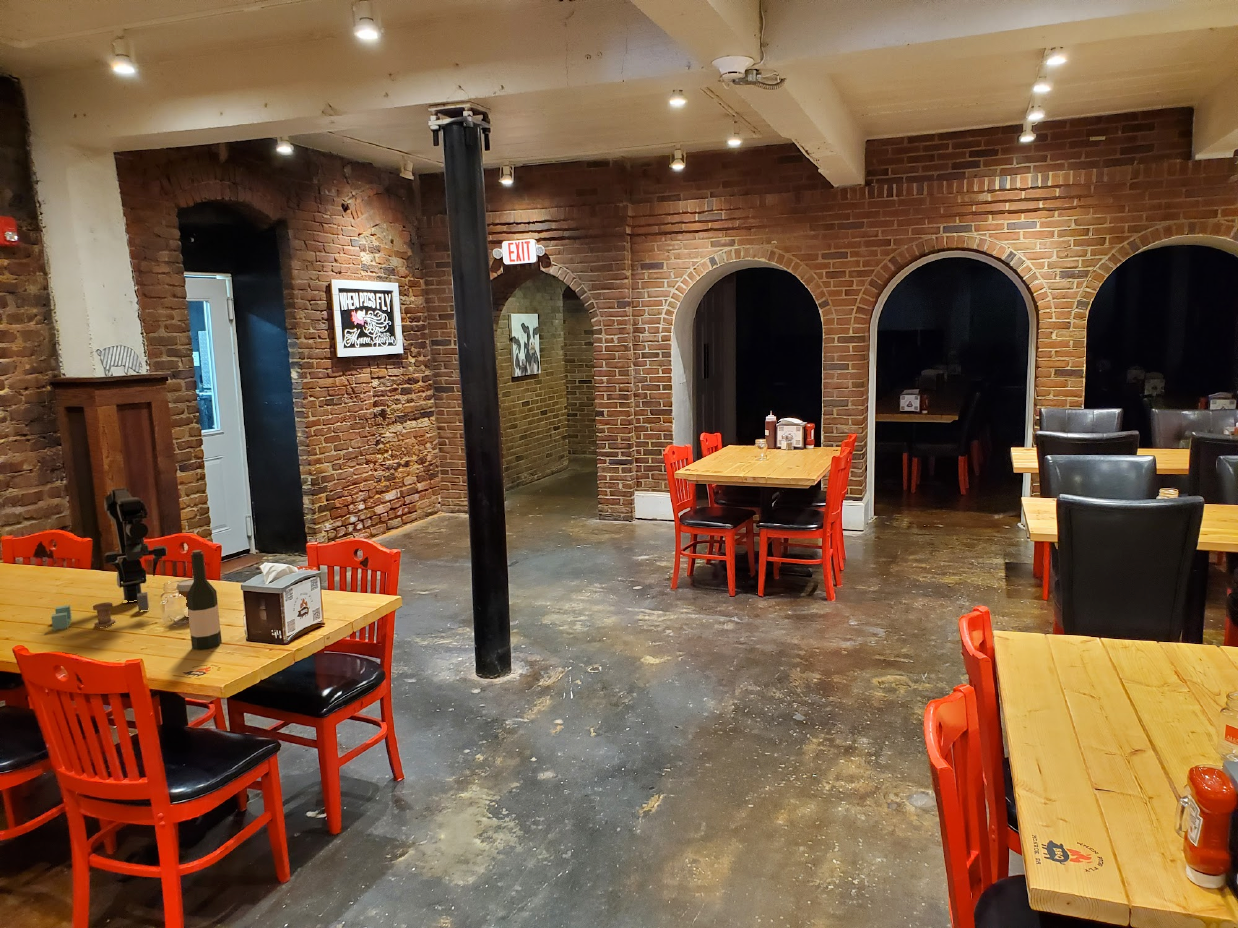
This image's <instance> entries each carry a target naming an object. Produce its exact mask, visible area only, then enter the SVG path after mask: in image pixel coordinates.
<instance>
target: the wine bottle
mask: <svg viewBox="0 0 1238 928" xmlns="http://www.w3.org/2000/svg"><path fill="white" fill-rule="evenodd" d="M191 552H192V553H191V554H190V558H191V559H190V560H191V567H192V578H194V582H193V584H192V586H191V588H190V590H189V592H188V594H187V596H186V598H187V607H188V616H189V618H188V622H189V623H188V626H189V631H190V632H189V633H190V642H191V648H192V649H193V650H196V651H205V650H211V649H214V648H217V647H219V646H221V644H222V643H223V640H222V631H221V623H220V614H219V604H218V595H217V590H216V588H214V586H213V585H212V584H211V583H210V582H209V580H208V579H207V574H206V566H205V556H204V555H205V554H204V552H202V550H201V549H195V550H193V551H191Z"/></svg>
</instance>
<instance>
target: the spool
mask: <svg viewBox="0 0 1238 928" xmlns="http://www.w3.org/2000/svg"><path fill="white" fill-rule="evenodd" d="M112 608H113V602H100V603H97V604H94V605H93V606H92V610H93V611H96V614H97V622H94V628H95V627H97V628H96V629H101V628H100V627H105V628H107V627H106V626H110V625H112V624H114V623H116V619H113V618H111V610H110V609H112ZM110 627H111V626H110Z"/></svg>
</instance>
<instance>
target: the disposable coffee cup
mask: <svg viewBox="0 0 1238 928" xmlns="http://www.w3.org/2000/svg"><path fill="white" fill-rule="evenodd" d="M193 582H194V578H193V577H192V578H187V579H182V580H180V581H178V582H177V583H176V584H177V585H176V586H175V587H176V588H175V589H177V592H178V595H179V594H181V595H183V596H184V597H186V596H187V594H188V592H189V590H190V588H191V586H192V584H193ZM186 600H187V598H186ZM186 606H187V603H186Z"/></svg>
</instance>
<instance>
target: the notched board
mask: <svg viewBox="0 0 1238 928" xmlns="http://www.w3.org/2000/svg"><path fill="white" fill-rule="evenodd" d="M54 610H55V611H54V613H53V614H51V625H52V631H53V632H54V631H59V630H58V629H61V630H67V629H68V628H69V626H70V624H69V623H71V622H70V621H72V619H73V616H72V609H71V605H70V604H68V605H63V606H62V605H60V606H56V607H55V609H54ZM71 618H72V619H71ZM66 628H67V629H66Z"/></svg>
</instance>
